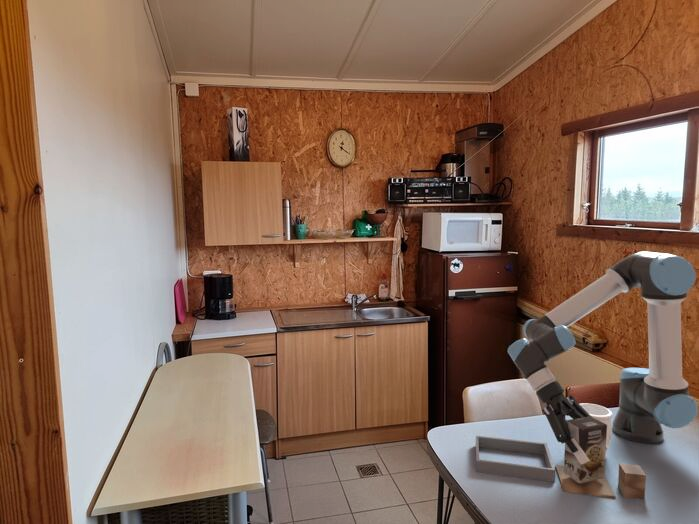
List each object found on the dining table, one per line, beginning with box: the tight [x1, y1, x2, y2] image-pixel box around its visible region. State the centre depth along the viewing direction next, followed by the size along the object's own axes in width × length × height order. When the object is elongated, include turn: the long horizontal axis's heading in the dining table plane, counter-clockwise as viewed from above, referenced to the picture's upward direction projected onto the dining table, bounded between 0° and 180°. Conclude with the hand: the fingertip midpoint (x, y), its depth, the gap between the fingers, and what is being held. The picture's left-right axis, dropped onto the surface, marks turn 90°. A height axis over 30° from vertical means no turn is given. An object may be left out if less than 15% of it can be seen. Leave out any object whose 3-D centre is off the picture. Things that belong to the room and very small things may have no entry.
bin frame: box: [475, 435, 556, 483], centre depth 142 cm, size 22×16×4 cm
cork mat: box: [554, 464, 616, 499], centre depth 131 cm, size 13×13×1 cm
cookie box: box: [563, 416, 607, 483], centre depth 130 cm, size 9×6×16 cm
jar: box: [578, 402, 613, 460], centre depth 145 cm, size 11×10×15 cm
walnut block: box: [617, 462, 647, 501], centre depth 125 cm, size 5×5×7 cm
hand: (595, 456), depth 128 cm, fingers closed on cookie box, 10 cm apart
